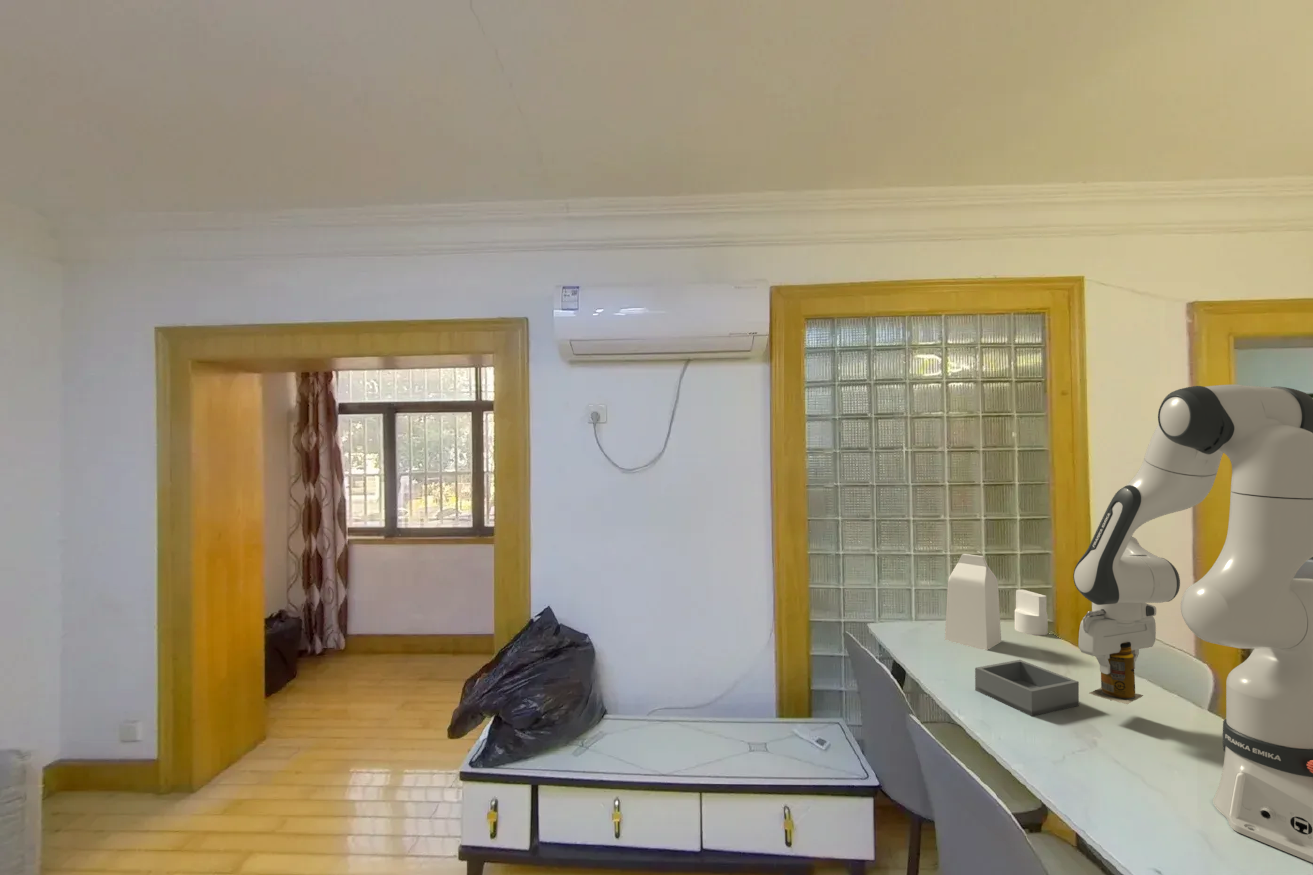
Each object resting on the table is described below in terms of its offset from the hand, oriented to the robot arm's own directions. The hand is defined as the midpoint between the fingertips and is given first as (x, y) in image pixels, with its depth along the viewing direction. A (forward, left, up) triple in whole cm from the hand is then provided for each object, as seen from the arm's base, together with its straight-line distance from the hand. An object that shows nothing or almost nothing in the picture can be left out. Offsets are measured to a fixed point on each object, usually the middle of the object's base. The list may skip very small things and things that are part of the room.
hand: (1117, 671), depth 137 cm
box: (+15, +10, -10) cm, 20 cm away
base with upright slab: (+51, -38, -11) cm, 64 cm away
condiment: (0, +1, -5) cm, 5 cm away
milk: (+50, -12, -11) cm, 52 cm away
